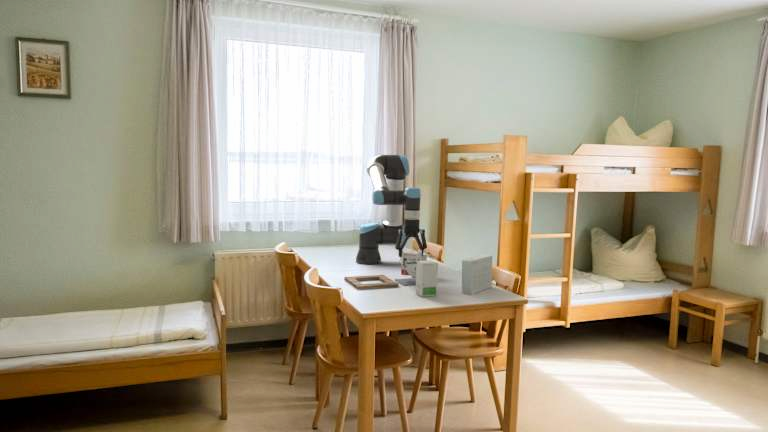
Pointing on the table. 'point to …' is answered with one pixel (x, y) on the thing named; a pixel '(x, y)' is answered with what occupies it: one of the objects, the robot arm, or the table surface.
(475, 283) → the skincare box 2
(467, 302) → the table surface
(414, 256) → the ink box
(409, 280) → the mat
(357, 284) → the board
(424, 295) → the skincare box
